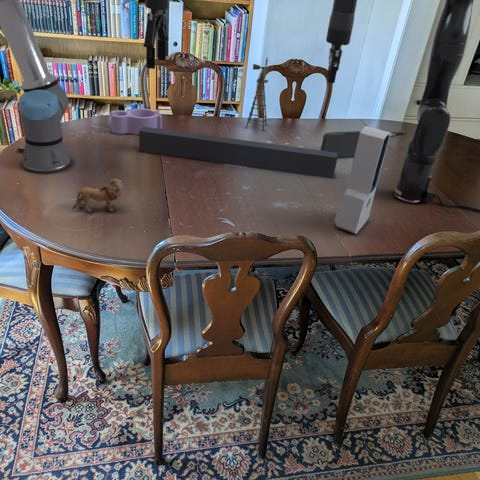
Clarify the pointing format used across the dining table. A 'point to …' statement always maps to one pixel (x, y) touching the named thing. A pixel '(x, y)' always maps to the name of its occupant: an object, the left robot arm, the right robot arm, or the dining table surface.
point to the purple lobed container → (134, 120)
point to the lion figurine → (100, 194)
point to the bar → (237, 152)
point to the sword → (396, 133)
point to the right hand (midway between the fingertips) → (330, 79)
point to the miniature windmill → (257, 67)
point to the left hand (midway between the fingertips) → (156, 64)
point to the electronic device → (362, 179)
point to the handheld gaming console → (341, 143)
